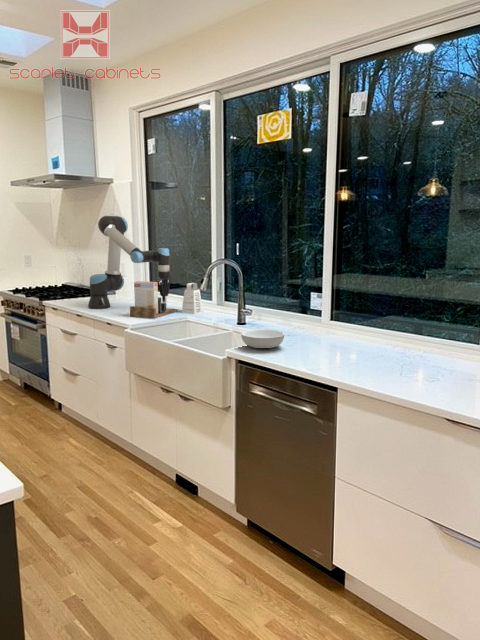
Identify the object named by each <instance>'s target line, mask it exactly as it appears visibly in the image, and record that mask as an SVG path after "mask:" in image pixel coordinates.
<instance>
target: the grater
mask: <svg viewBox="0 0 480 640" xmlns="http://www.w3.org/2000/svg"><path fill="white" fill-rule="evenodd" d="M203 310H204V309H203V302H202V297H201V290H200V289H199V288H198V283H197V282H189V283H187V284H186V289H184V292H183V298H182V307H181V314H188V315H197V314H201V313H203V312H204V311H203Z"/></svg>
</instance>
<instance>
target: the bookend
mask: <svg viewBox="0 0 480 640" xmlns="http://www.w3.org/2000/svg"><path fill="white" fill-rule="evenodd" d="M166 308H167V305H166V303H162V297H159V296H158V313H163V312H165V311H166Z"/></svg>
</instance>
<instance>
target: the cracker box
mask: <svg viewBox="0 0 480 640" xmlns="http://www.w3.org/2000/svg"><path fill="white" fill-rule="evenodd" d="M158 282H159V281H143V280H141V281H140V280H138V281H134V282H133V285H134V286H133V289H134V290H133V293H134V306H135V307H148V308H156V314H158V297H159V285H158Z"/></svg>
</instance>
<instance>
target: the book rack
mask: <svg viewBox="0 0 480 640" xmlns="http://www.w3.org/2000/svg"><path fill="white" fill-rule="evenodd" d="M177 312H179V309H178V308H168V307H166V311H165V312H163V313H158V314H156V308H148V307H135V305H134V306H129V317H130V318H139V317H140V318H143V319H151V318H154V319H153V320H156V319H158V317H159V318H161V317H165V316H168V315H171V314H174V313H177ZM140 318H139V319H140ZM155 318H156V319H155Z"/></svg>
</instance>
